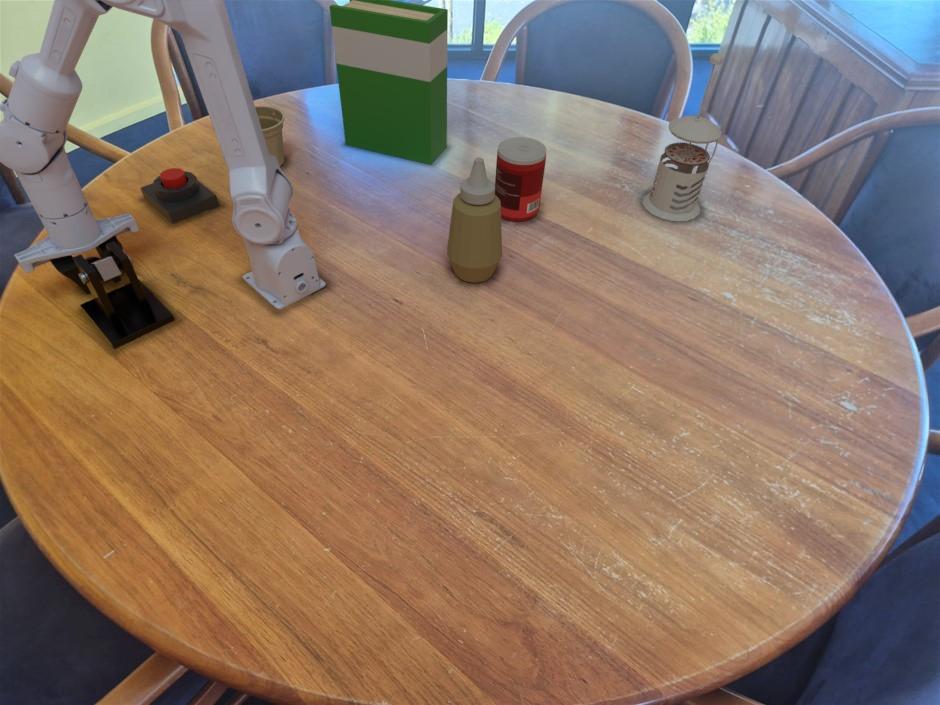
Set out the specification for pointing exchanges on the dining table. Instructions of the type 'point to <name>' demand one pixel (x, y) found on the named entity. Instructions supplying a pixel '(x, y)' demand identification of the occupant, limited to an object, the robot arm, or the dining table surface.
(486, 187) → the squeeze bottle
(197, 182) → the button box
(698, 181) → the french press
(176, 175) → the button
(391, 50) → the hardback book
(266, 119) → the flower pot
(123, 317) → the bracket
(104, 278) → the lever
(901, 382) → the dining table surface
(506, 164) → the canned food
